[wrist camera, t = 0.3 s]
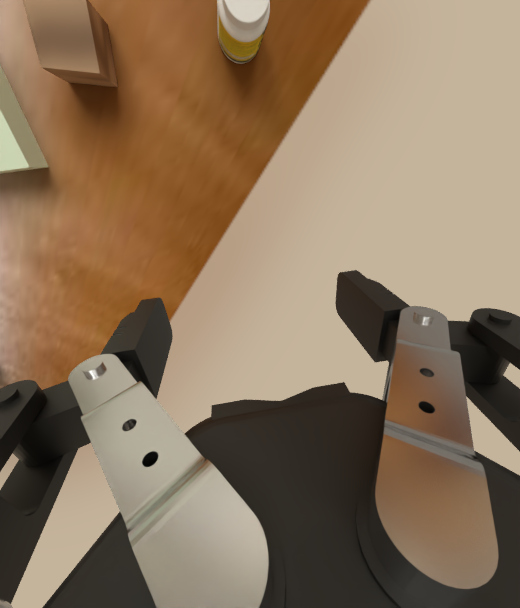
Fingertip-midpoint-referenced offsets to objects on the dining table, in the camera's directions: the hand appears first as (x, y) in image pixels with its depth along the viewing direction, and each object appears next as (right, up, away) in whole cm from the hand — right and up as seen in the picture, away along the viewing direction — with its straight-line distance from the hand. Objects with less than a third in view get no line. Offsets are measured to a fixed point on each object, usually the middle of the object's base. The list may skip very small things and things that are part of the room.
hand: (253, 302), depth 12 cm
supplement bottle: (-2, +29, +16) cm, 34 cm away
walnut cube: (-18, +26, +15) cm, 35 cm away
